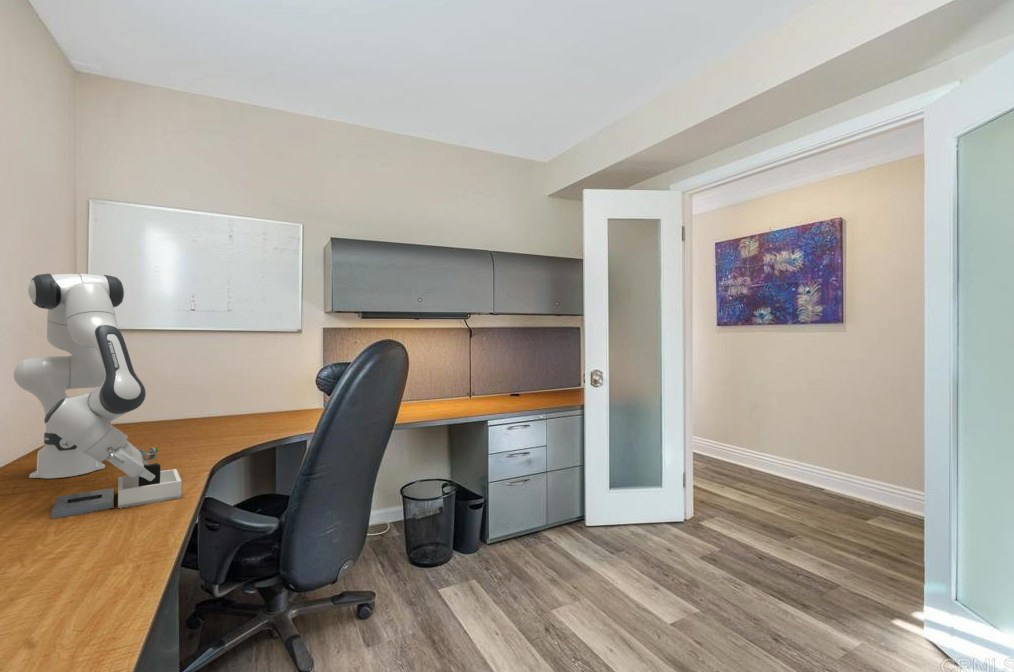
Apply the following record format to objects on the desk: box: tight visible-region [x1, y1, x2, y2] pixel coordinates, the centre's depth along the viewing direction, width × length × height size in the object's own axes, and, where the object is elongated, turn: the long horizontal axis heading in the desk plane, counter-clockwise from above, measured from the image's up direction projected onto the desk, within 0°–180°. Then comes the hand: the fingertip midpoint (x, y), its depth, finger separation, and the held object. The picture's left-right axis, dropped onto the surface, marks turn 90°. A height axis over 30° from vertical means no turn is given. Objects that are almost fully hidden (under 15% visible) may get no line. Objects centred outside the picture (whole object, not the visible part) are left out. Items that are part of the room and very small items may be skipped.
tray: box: [117, 468, 182, 509], centre depth 139 cm, size 16×14×5 cm
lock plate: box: [51, 487, 115, 520], centre depth 131 cm, size 14×12×2 cm
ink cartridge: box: [139, 462, 162, 487], centre depth 140 cm, size 5×2×8 cm, turn 128°
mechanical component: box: [138, 447, 159, 462], centre depth 152 cm, size 3×10×10 cm, turn 155°
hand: (152, 474), depth 140 cm, fingers open, 8 cm apart
